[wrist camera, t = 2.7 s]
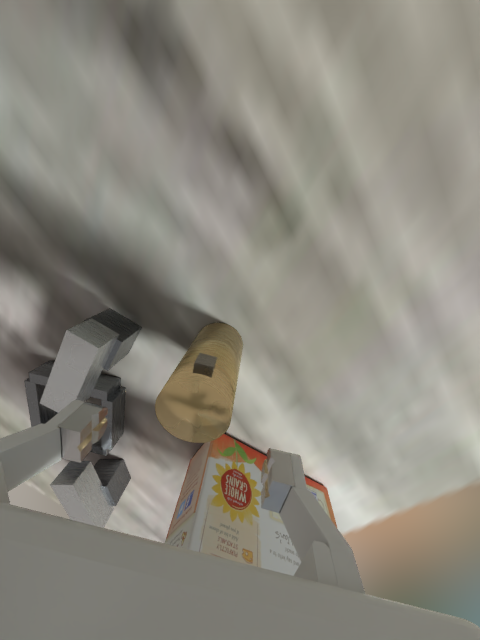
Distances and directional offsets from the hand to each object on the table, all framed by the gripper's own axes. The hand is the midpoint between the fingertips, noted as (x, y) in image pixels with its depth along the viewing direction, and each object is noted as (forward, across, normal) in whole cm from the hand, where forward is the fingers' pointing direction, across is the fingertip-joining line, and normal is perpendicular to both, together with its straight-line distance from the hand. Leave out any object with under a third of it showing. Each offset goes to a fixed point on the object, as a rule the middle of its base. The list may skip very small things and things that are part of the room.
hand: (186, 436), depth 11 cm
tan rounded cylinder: (+9, 0, -1) cm, 9 cm away
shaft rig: (+9, +12, +9) cm, 18 cm away
